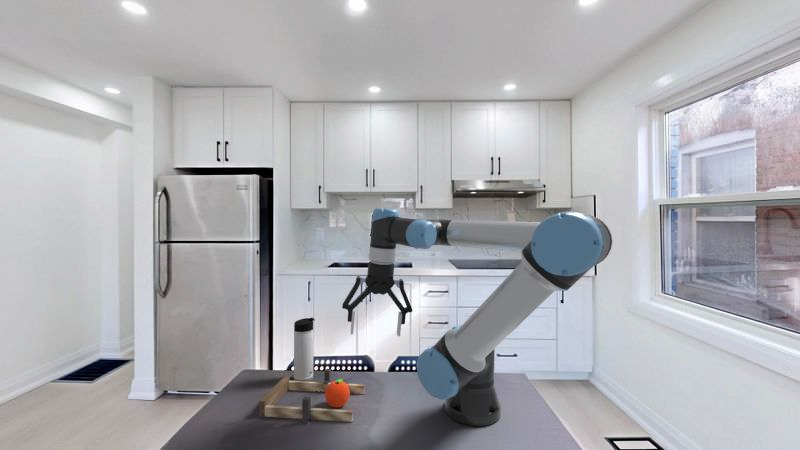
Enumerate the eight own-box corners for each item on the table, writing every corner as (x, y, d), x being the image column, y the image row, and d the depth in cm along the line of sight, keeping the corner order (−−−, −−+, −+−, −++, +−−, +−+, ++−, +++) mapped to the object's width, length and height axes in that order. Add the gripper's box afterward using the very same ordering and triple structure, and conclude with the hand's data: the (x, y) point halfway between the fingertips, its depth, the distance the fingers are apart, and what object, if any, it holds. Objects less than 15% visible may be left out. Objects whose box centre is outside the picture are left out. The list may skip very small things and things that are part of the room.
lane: (365, 389, 108) (365, 370, 108) (350, 425, 89) (350, 402, 89) (287, 385, 111) (287, 366, 111) (255, 419, 92) (255, 397, 92)
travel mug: (316, 380, 115) (316, 320, 115) (296, 385, 111) (296, 323, 111) (311, 373, 120) (311, 315, 120) (292, 377, 117) (292, 318, 117)
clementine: (334, 396, 104) (334, 372, 104) (355, 400, 102) (355, 376, 102) (320, 410, 97) (320, 384, 97) (342, 414, 94) (342, 388, 94)
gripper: (421, 262, 105) (415, 330, 106) (338, 256, 102) (333, 326, 103) (426, 267, 97) (419, 340, 99) (336, 261, 95) (330, 336, 96)
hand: (375, 333), depth 101 cm, fingers open, 13 cm apart
